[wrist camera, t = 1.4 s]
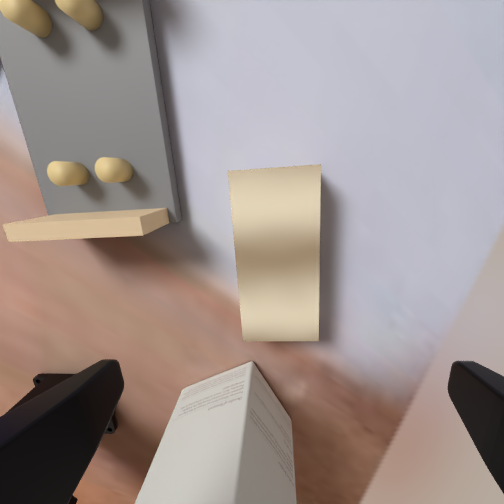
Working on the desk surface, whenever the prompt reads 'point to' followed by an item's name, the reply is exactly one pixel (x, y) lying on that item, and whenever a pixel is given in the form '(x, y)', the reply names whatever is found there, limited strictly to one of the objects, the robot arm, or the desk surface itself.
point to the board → (277, 251)
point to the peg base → (90, 117)
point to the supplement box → (224, 445)
